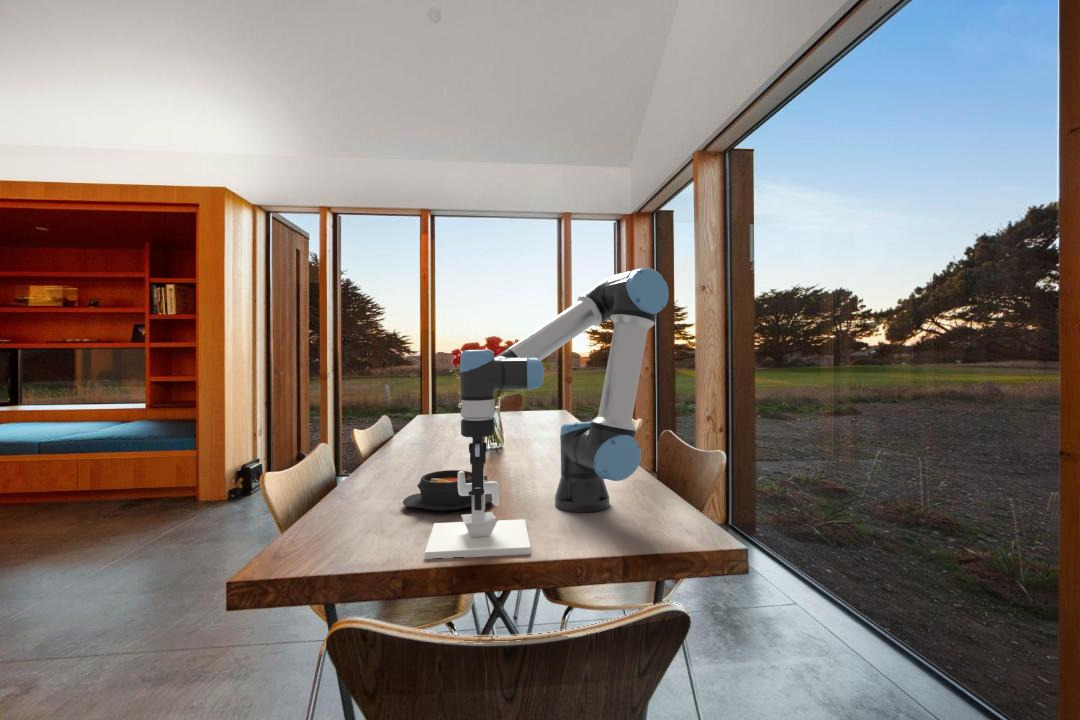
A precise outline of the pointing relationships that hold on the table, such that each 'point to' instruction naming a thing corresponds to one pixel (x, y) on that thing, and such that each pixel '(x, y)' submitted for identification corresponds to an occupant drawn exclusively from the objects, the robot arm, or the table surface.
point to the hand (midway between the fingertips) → (478, 516)
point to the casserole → (442, 492)
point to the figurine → (490, 519)
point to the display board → (478, 540)
